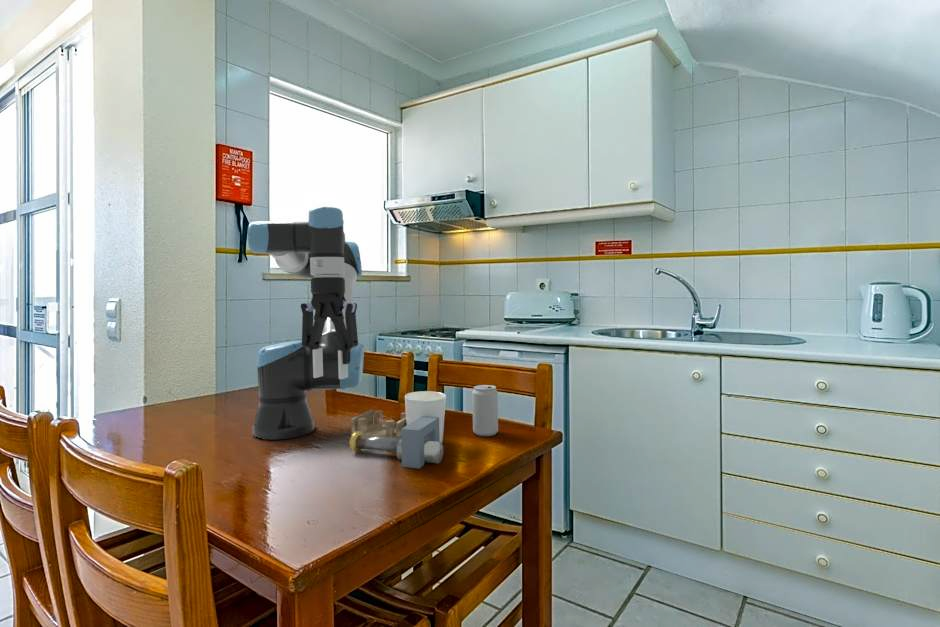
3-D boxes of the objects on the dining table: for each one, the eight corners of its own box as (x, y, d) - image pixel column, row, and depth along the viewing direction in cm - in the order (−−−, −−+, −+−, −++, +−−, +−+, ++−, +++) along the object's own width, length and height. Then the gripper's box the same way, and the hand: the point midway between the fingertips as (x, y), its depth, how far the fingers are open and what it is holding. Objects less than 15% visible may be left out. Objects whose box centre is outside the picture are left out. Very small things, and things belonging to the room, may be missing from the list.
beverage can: (496, 437, 128) (495, 389, 127) (470, 436, 129) (469, 388, 128) (499, 430, 134) (499, 384, 133) (475, 429, 135) (474, 383, 135)
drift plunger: (349, 454, 116) (349, 434, 116) (360, 448, 121) (360, 428, 120) (393, 459, 113) (393, 438, 112) (403, 452, 117) (403, 432, 117)
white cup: (450, 441, 128) (451, 392, 127) (437, 453, 118) (438, 401, 117) (413, 437, 130) (413, 389, 130) (397, 449, 121) (398, 398, 120)
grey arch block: (402, 466, 109) (401, 428, 108) (423, 450, 119) (422, 416, 118) (419, 468, 107) (418, 430, 107) (439, 452, 117) (439, 417, 117)
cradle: (349, 443, 125) (348, 419, 124) (370, 432, 134) (370, 409, 134) (400, 448, 120) (399, 423, 120) (418, 436, 130) (418, 412, 129)
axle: (398, 463, 112) (395, 445, 111) (407, 451, 116) (404, 434, 115) (436, 467, 109) (434, 449, 108) (444, 455, 113) (441, 437, 112)
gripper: (282, 277, 118) (285, 378, 119) (355, 275, 111) (358, 382, 113) (303, 277, 125) (306, 373, 126) (373, 276, 118) (375, 376, 120)
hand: (330, 377), depth 119 cm, fingers open, 6 cm apart
